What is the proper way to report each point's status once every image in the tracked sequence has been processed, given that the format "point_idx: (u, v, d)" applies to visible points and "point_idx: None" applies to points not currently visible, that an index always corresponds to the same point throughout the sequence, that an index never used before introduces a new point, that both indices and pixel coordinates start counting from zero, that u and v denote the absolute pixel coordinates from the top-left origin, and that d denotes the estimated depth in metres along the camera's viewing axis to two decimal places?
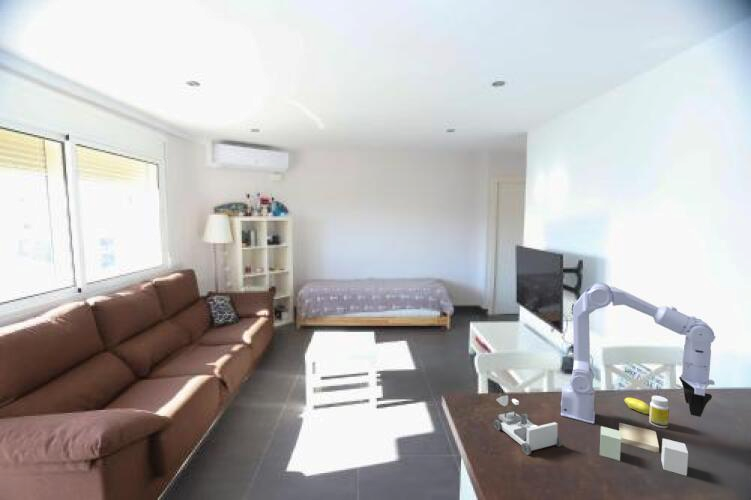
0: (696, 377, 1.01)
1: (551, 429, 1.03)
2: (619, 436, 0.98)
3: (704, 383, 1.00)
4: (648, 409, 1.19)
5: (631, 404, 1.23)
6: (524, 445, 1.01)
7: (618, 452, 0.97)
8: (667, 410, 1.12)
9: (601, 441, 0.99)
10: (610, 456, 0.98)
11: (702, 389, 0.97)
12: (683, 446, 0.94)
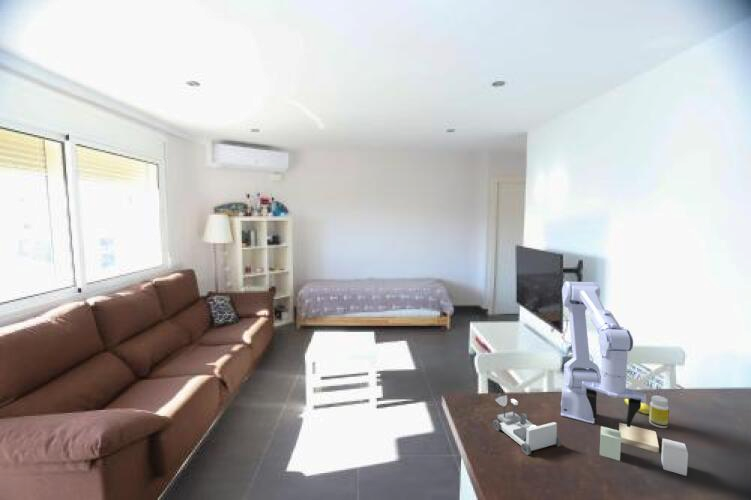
0: None
1: (550, 429, 1.03)
2: (619, 436, 0.98)
3: (601, 389, 0.99)
4: (648, 409, 1.19)
5: None
6: (524, 445, 1.01)
7: (618, 452, 0.97)
8: (667, 410, 1.12)
9: (601, 441, 0.99)
10: (610, 456, 0.98)
11: (582, 383, 1.02)
12: (683, 446, 0.94)
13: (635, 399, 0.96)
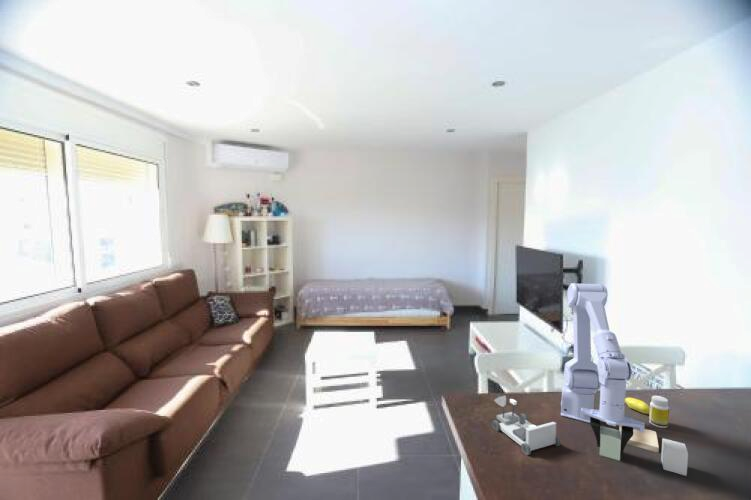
0: None
1: (550, 429, 1.03)
2: (619, 436, 0.98)
3: (600, 416, 1.00)
4: (648, 409, 1.19)
5: (631, 404, 1.23)
6: (524, 445, 1.01)
7: (618, 452, 0.97)
8: (667, 410, 1.12)
9: (601, 441, 0.99)
10: (610, 456, 0.98)
11: (581, 410, 1.03)
12: (683, 446, 0.94)
13: (633, 428, 0.97)
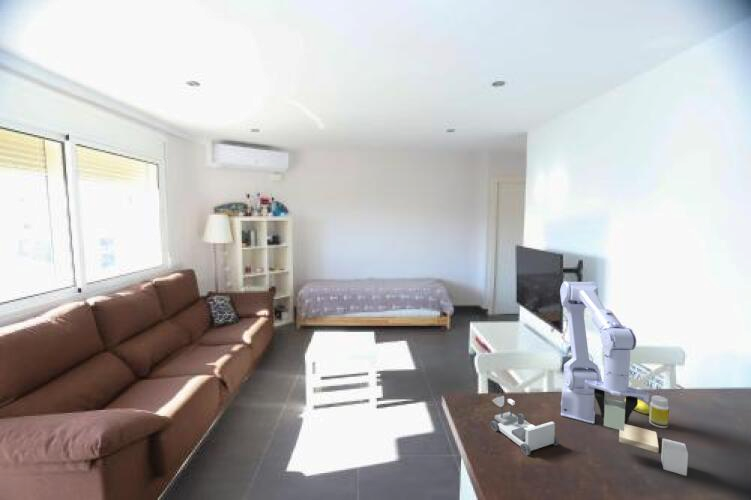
0: None
1: (549, 428, 1.03)
2: (623, 406, 0.98)
3: (604, 387, 1.00)
4: (648, 409, 1.19)
5: None
6: (524, 445, 1.01)
7: (622, 422, 0.97)
8: (667, 410, 1.12)
9: (605, 412, 0.99)
10: (614, 426, 0.98)
11: (585, 382, 1.03)
12: (683, 446, 0.94)
13: (638, 398, 0.96)
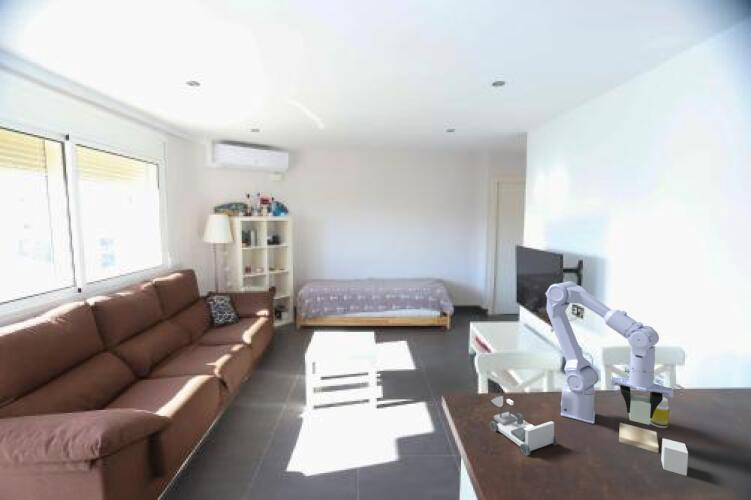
0: (629, 376, 1.07)
1: (548, 428, 1.03)
2: (648, 401, 1.04)
3: (630, 384, 1.05)
4: None
5: None
6: (523, 446, 1.00)
7: (648, 416, 1.03)
8: (667, 410, 1.12)
9: (631, 407, 1.05)
10: (640, 420, 1.04)
11: (611, 379, 1.09)
12: (683, 446, 0.94)
13: (662, 393, 1.02)
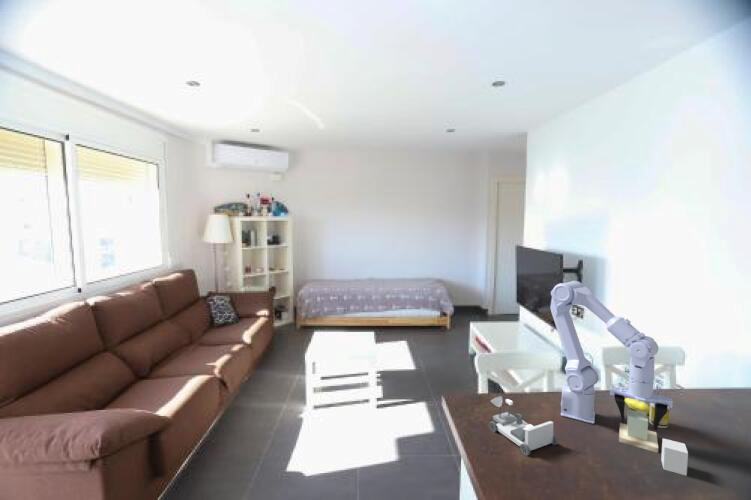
0: None
1: (548, 428, 1.03)
2: (646, 418, 1.04)
3: (629, 394, 1.06)
4: (648, 409, 1.19)
5: (631, 404, 1.23)
6: (523, 446, 1.00)
7: (645, 432, 1.04)
8: None
9: (629, 423, 1.06)
10: (638, 436, 1.05)
11: (610, 389, 1.09)
12: (683, 446, 0.94)
13: (662, 404, 1.03)
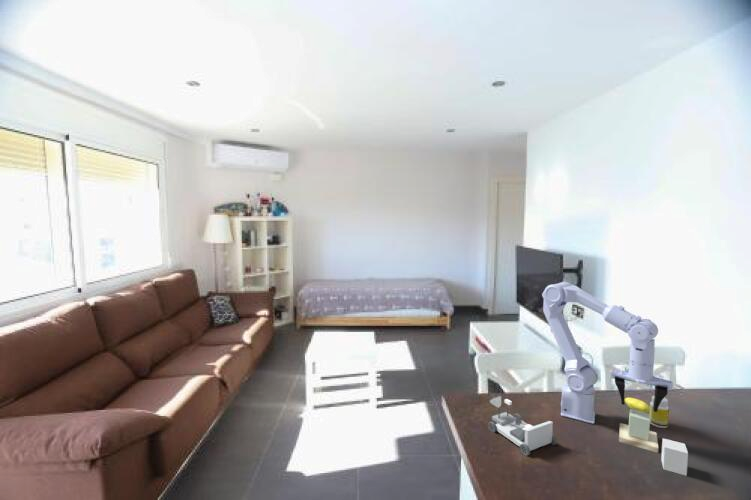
0: None
1: (547, 428, 1.03)
2: (648, 418, 1.04)
3: (629, 376, 1.06)
4: (648, 409, 1.19)
5: (631, 404, 1.23)
6: (523, 446, 1.00)
7: (647, 432, 1.03)
8: (667, 410, 1.12)
9: (630, 422, 1.06)
10: (639, 436, 1.05)
11: (611, 372, 1.10)
12: (683, 446, 0.94)
13: (662, 386, 1.03)
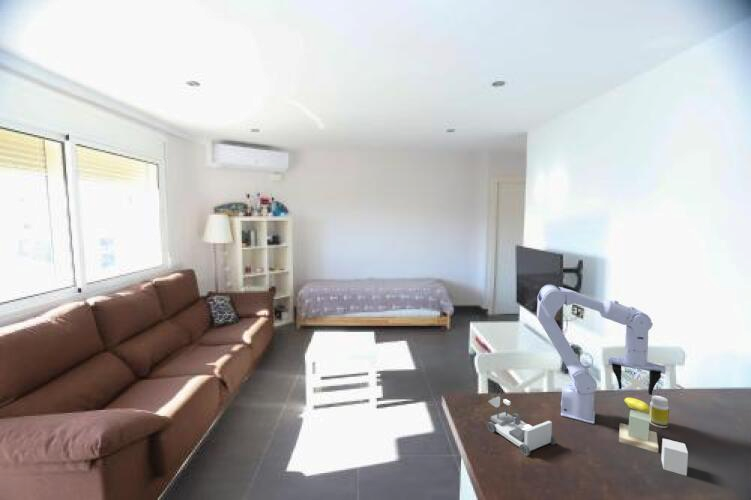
0: None
1: (546, 428, 1.03)
2: (648, 418, 1.04)
3: (626, 362, 1.14)
4: (648, 409, 1.19)
5: (631, 404, 1.23)
6: (523, 446, 1.00)
7: (646, 433, 1.03)
8: (667, 410, 1.12)
9: (630, 422, 1.06)
10: (638, 436, 1.05)
11: (608, 359, 1.18)
12: (683, 447, 0.93)
13: (656, 370, 1.11)
